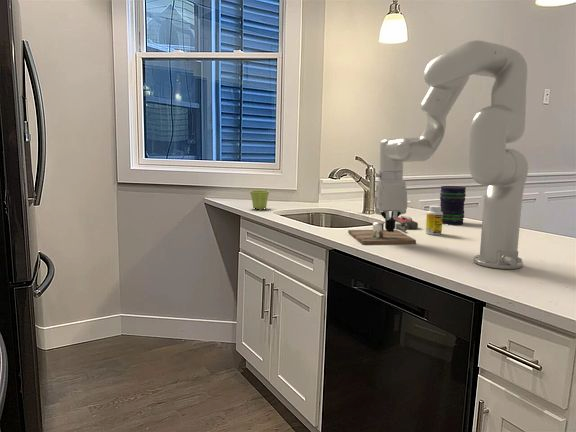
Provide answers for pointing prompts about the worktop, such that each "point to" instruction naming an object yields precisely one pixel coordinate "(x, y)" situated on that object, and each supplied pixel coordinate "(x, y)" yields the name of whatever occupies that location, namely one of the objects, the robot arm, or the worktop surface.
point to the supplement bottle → (434, 220)
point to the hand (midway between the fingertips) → (389, 231)
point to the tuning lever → (378, 229)
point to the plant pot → (259, 198)
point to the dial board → (387, 238)
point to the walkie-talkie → (405, 223)
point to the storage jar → (452, 204)
